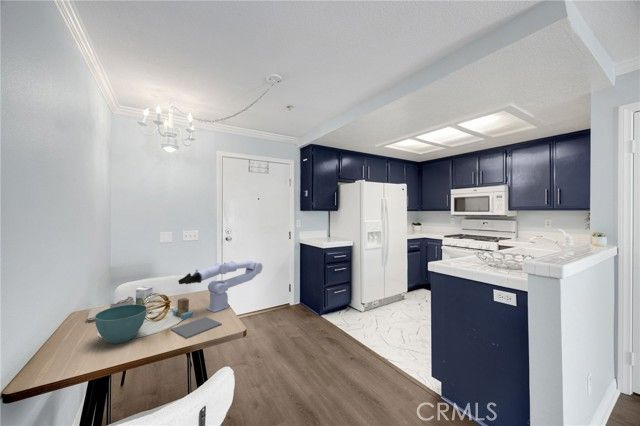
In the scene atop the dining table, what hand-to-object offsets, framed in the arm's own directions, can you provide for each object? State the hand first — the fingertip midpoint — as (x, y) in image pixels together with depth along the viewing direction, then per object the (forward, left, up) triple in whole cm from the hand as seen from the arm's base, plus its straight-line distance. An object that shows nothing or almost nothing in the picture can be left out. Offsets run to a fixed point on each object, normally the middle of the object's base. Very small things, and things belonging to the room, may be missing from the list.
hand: (182, 282), depth 135 cm
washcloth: (+22, -39, -20) cm, 49 cm away
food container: (+17, -23, -20) cm, 35 cm away
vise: (-3, -7, -20) cm, 21 cm away
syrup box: (+8, -24, -20) cm, 32 cm away
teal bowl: (+26, 0, -20) cm, 33 cm away
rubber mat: (0, +15, -20) cm, 25 cm away
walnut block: (-3, -4, -20) cm, 20 cm away
